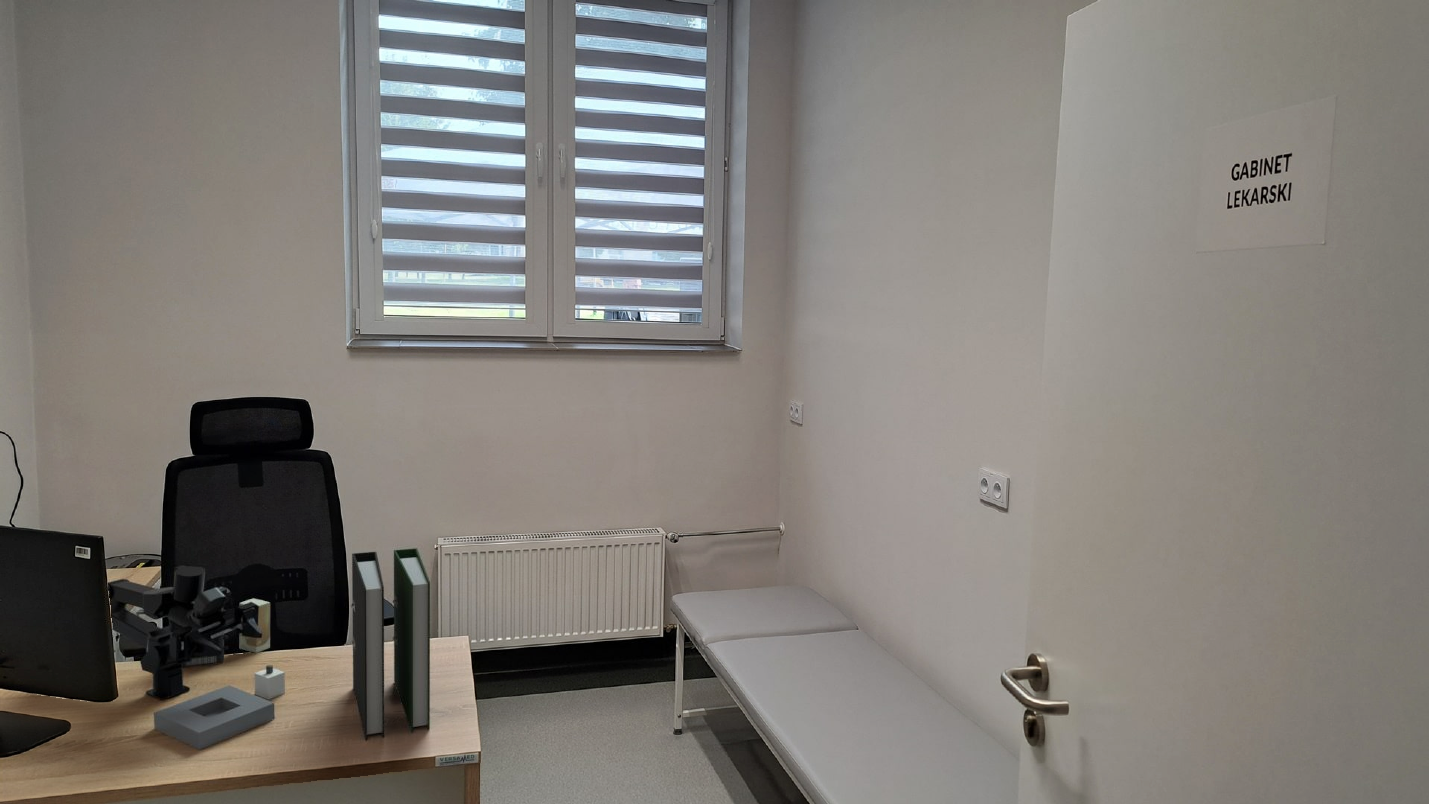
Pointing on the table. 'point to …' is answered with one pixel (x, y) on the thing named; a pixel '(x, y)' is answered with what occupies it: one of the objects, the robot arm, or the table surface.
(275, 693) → the plug
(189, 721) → the socket
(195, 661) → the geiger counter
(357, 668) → the books
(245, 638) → the skincare box
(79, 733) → the table surface
